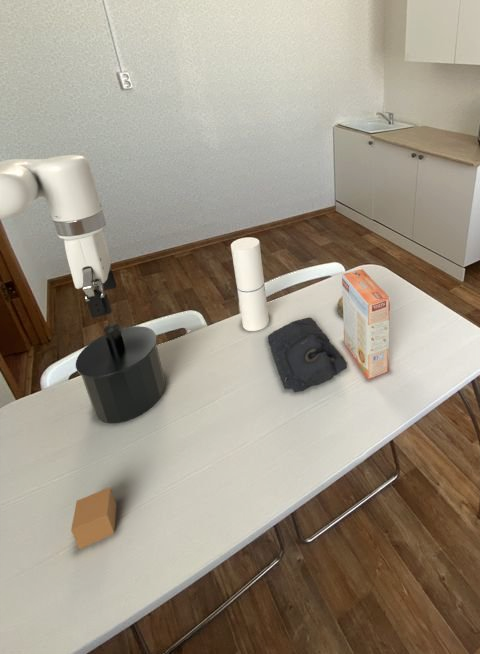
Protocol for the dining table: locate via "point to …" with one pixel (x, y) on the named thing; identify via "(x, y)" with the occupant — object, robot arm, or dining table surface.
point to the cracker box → (366, 322)
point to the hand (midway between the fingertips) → (105, 301)
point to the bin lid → (116, 351)
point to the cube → (94, 518)
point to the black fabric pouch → (304, 355)
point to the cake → (340, 307)
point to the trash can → (127, 391)
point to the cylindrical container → (250, 283)
